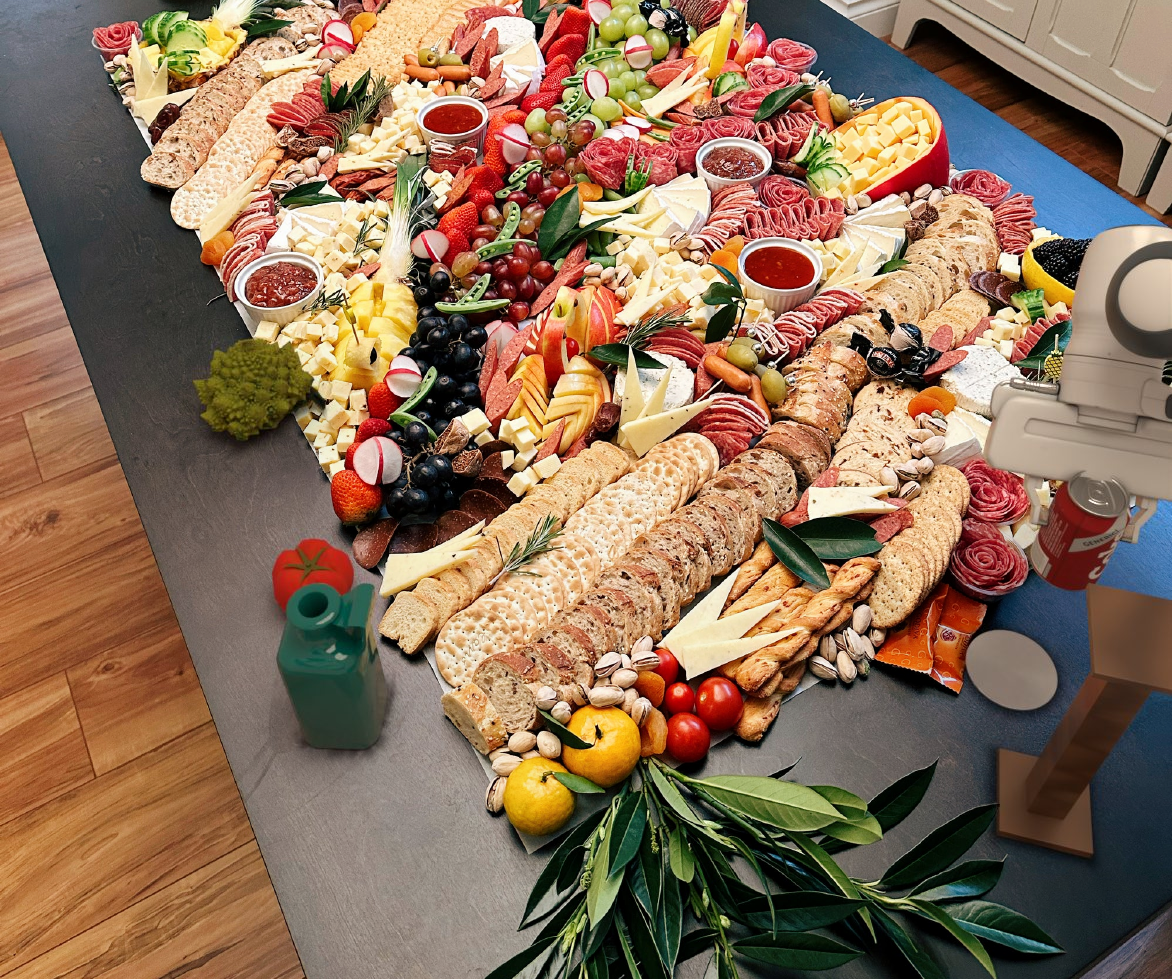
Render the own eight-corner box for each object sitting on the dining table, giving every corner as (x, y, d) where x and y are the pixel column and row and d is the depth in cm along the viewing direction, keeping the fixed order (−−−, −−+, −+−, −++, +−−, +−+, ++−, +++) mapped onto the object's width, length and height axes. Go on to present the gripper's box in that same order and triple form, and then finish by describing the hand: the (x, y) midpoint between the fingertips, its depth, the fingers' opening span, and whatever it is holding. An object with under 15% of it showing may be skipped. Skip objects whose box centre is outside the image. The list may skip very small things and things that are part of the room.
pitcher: (300, 749, 120) (257, 639, 105) (317, 677, 126) (279, 564, 111) (390, 752, 120) (361, 643, 105) (403, 681, 126) (377, 567, 111)
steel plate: (1055, 642, 129) (1056, 640, 129) (1058, 721, 122) (1059, 719, 122) (965, 623, 131) (966, 621, 131) (964, 699, 124) (964, 697, 124)
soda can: (1027, 587, 111) (1062, 512, 103) (1027, 533, 116) (1060, 458, 107) (1099, 602, 110) (1140, 528, 101) (1096, 547, 114) (1135, 472, 106)
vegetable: (353, 379, 155) (276, 334, 143) (291, 476, 153) (208, 439, 142) (296, 342, 164) (220, 298, 153) (237, 433, 162) (155, 395, 151)
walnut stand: (1084, 774, 118) (1198, 605, 96) (1089, 858, 112) (1212, 698, 89) (996, 753, 120) (1088, 582, 97) (996, 835, 113) (1094, 672, 91)
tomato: (283, 637, 130) (270, 601, 125) (276, 576, 136) (263, 539, 131) (363, 617, 132) (354, 581, 127) (353, 557, 138) (343, 520, 133)
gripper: (1001, 373, 107) (975, 515, 107) (1231, 412, 103) (1205, 560, 103) (990, 373, 113) (966, 508, 113) (1207, 410, 109) (1182, 550, 109)
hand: (1082, 533), depth 108 cm, fingers closed on soda can, 7 cm apart
